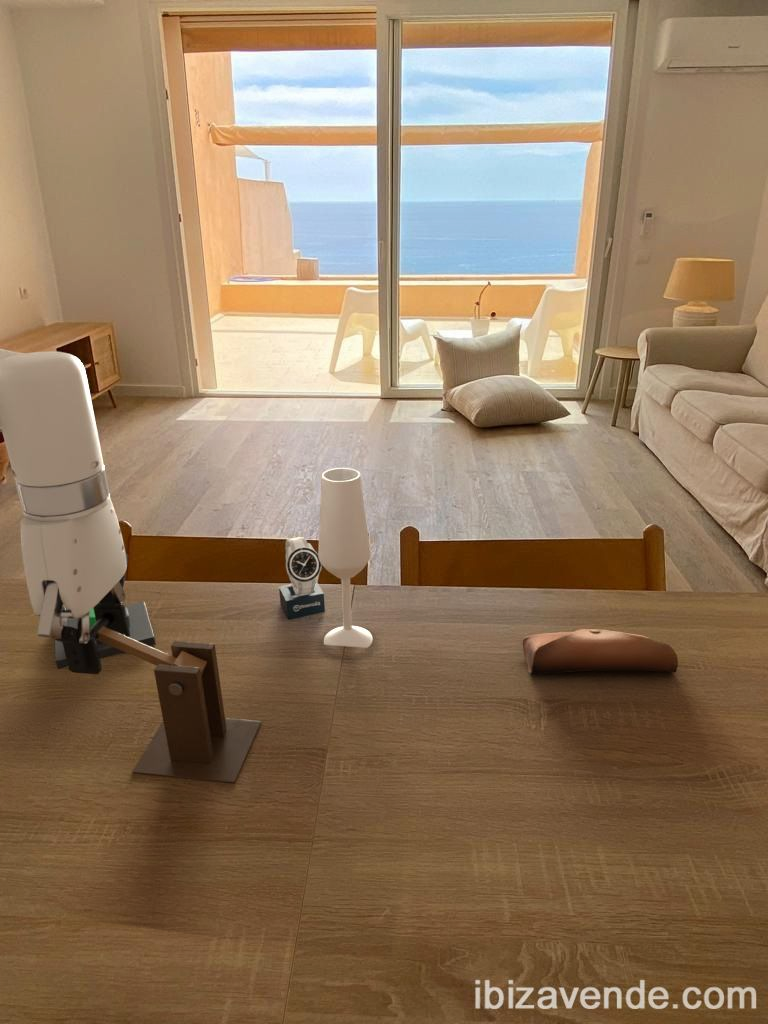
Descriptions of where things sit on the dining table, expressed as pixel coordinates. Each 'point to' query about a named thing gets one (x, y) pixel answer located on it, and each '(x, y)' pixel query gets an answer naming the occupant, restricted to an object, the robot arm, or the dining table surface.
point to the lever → (140, 646)
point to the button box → (137, 628)
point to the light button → (92, 617)
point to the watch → (301, 580)
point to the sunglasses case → (596, 652)
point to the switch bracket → (195, 724)
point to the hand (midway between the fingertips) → (101, 652)
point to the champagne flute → (344, 545)
